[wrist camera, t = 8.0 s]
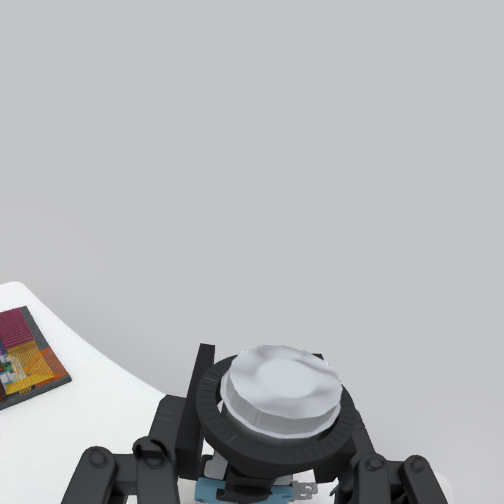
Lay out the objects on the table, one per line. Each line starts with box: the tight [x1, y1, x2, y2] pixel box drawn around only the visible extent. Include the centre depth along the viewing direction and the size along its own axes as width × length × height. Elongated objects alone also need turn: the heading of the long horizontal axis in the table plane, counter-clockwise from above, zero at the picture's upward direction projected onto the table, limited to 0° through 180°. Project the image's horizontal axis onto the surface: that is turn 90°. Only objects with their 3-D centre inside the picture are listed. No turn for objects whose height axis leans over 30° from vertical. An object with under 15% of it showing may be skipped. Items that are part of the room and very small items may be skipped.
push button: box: [194, 345, 356, 504], centre depth 9 cm, size 7×5×10 cm
